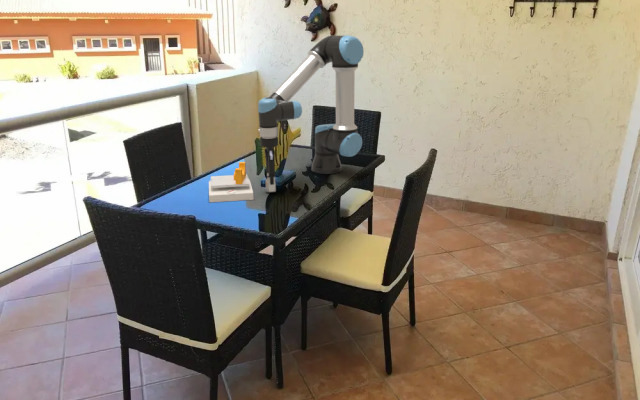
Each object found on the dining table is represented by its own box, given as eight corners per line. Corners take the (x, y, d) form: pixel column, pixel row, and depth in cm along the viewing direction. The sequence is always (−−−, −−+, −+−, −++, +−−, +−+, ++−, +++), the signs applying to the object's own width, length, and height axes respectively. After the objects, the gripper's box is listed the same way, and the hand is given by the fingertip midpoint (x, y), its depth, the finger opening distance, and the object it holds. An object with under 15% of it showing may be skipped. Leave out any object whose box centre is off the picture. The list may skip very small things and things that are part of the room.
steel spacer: (275, 188, 218) (274, 178, 216) (276, 192, 213) (276, 181, 212) (265, 189, 217) (264, 178, 215) (266, 192, 213) (266, 181, 211)
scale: (249, 185, 224) (249, 173, 223) (253, 199, 206) (253, 187, 204) (209, 187, 221) (208, 175, 219) (209, 202, 202) (208, 189, 201)
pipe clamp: (236, 176, 219) (235, 161, 217) (246, 176, 219) (245, 162, 217) (231, 184, 208) (230, 169, 206) (241, 184, 208) (241, 169, 206)
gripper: (257, 132, 214) (260, 183, 222) (262, 141, 198) (265, 196, 206) (275, 131, 216) (277, 182, 224) (280, 140, 200) (282, 195, 208)
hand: (271, 189), depth 215 cm, fingers closed on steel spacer, 4 cm apart
